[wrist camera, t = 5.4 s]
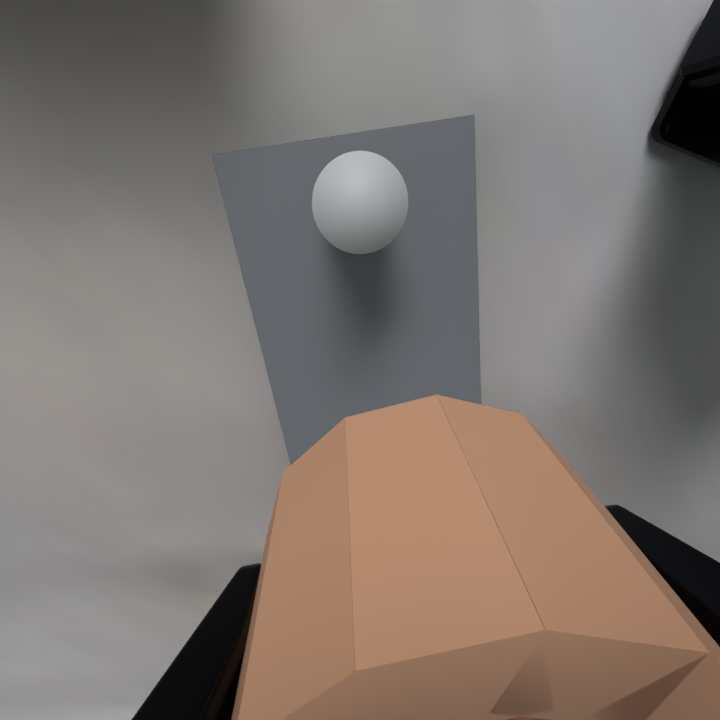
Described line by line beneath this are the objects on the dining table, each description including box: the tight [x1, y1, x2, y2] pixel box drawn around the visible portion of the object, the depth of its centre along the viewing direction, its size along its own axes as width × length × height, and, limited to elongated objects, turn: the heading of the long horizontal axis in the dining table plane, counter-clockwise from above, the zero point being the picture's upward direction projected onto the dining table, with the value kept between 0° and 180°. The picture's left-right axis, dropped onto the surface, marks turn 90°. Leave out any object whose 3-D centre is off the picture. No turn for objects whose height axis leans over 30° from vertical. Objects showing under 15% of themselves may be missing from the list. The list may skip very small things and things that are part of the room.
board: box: [212, 115, 481, 465], centre depth 16 cm, size 18×9×6 cm, turn 8°
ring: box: [231, 395, 720, 720], centre depth 6 cm, size 6×6×4 cm
